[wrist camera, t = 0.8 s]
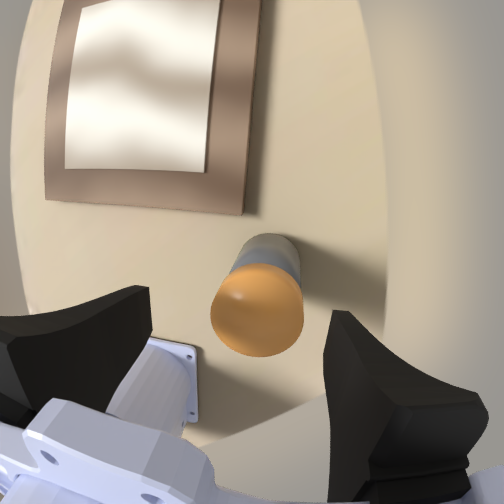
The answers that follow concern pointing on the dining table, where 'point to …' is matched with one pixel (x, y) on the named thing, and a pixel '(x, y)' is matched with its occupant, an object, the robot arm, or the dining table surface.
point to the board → (152, 103)
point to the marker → (261, 298)
